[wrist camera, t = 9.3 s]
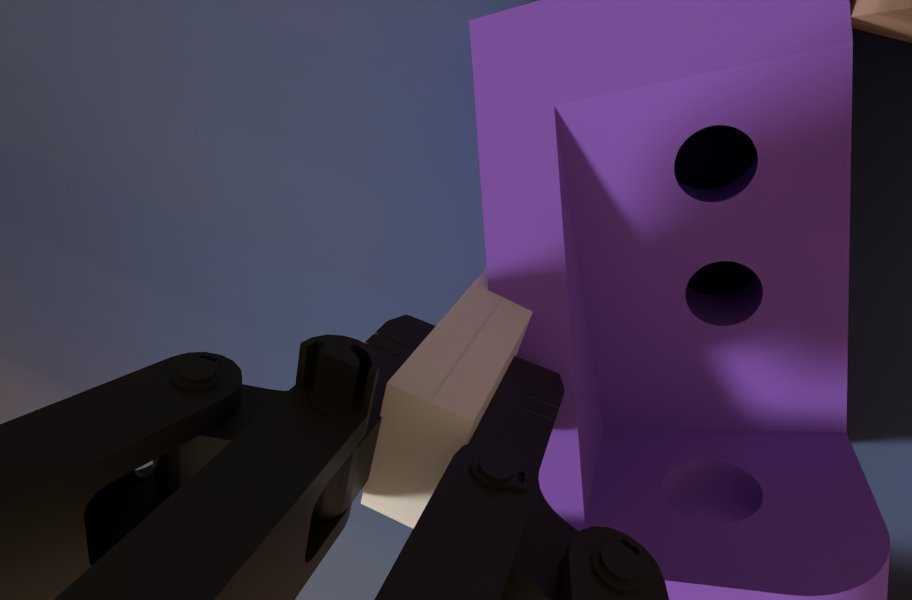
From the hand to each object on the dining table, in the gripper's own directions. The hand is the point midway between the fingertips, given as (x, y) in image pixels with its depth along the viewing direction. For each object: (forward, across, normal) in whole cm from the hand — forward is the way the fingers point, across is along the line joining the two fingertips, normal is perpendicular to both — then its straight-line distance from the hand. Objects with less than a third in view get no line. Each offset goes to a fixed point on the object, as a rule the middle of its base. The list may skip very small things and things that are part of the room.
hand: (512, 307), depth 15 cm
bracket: (+2, +3, +2) cm, 4 cm away
